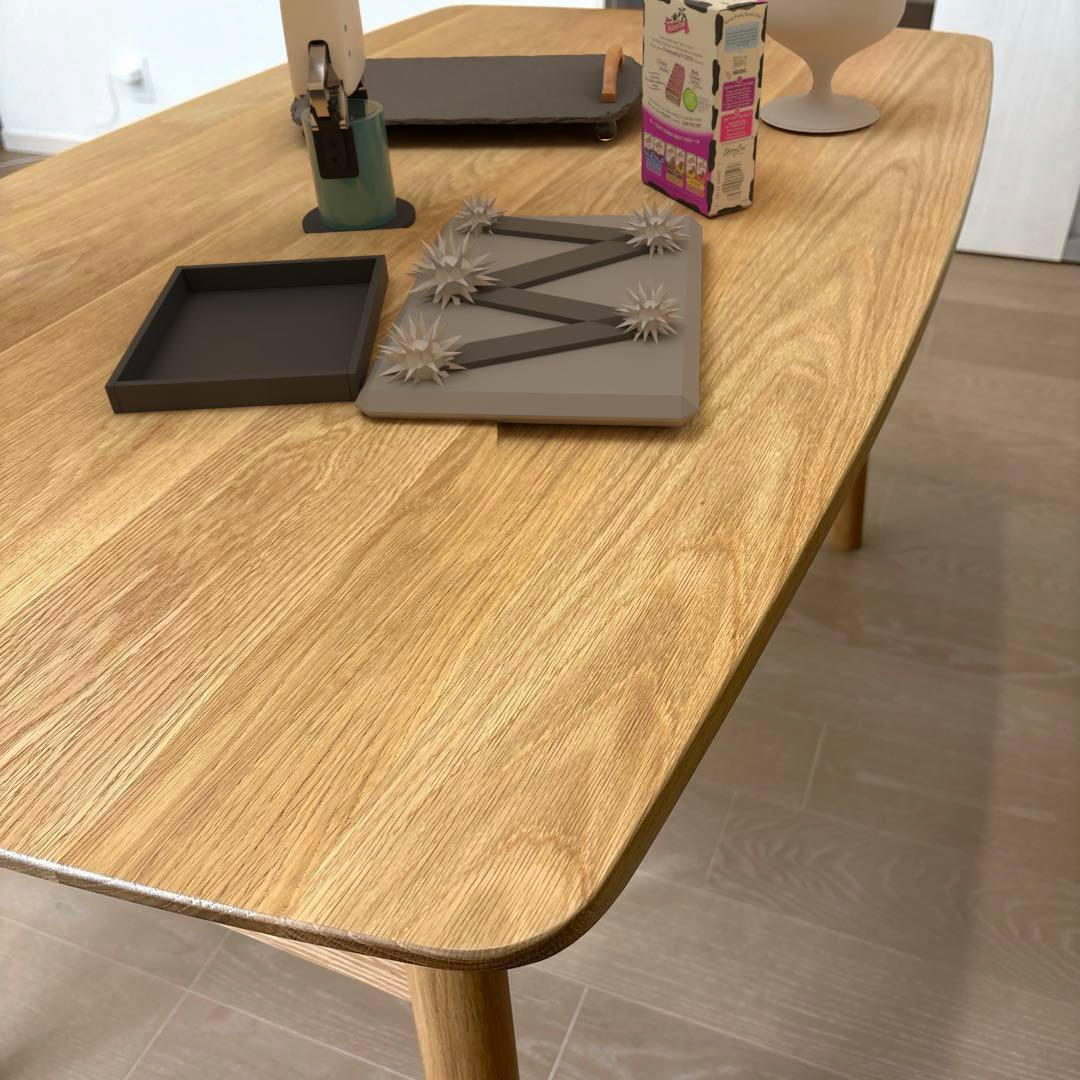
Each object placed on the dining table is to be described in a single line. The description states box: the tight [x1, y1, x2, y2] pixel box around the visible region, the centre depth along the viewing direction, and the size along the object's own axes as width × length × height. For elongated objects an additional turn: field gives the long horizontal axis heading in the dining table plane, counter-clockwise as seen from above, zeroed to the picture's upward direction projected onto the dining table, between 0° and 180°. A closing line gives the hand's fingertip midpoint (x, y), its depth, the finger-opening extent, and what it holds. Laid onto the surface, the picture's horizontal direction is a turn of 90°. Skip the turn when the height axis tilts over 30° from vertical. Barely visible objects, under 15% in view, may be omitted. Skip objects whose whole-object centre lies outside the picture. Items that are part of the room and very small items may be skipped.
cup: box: [301, 99, 398, 232], centre depth 92 cm, size 7×7×9 cm
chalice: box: [759, 0, 907, 133], centre depth 105 cm, size 14×14×15 cm
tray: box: [104, 254, 389, 415], centre depth 76 cm, size 16×18×3 cm
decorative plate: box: [354, 191, 704, 428], centre depth 75 cm, size 30×22×7 cm
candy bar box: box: [640, 0, 768, 218], centre depth 90 cm, size 11×5×16 cm, turn 28°
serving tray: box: [290, 44, 643, 142], centre depth 115 cm, size 39×23×6 cm, turn 82°
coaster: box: [301, 196, 417, 235], centre depth 95 cm, size 10×10×1 cm
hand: (348, 156), depth 91 cm, fingers open, 9 cm apart
